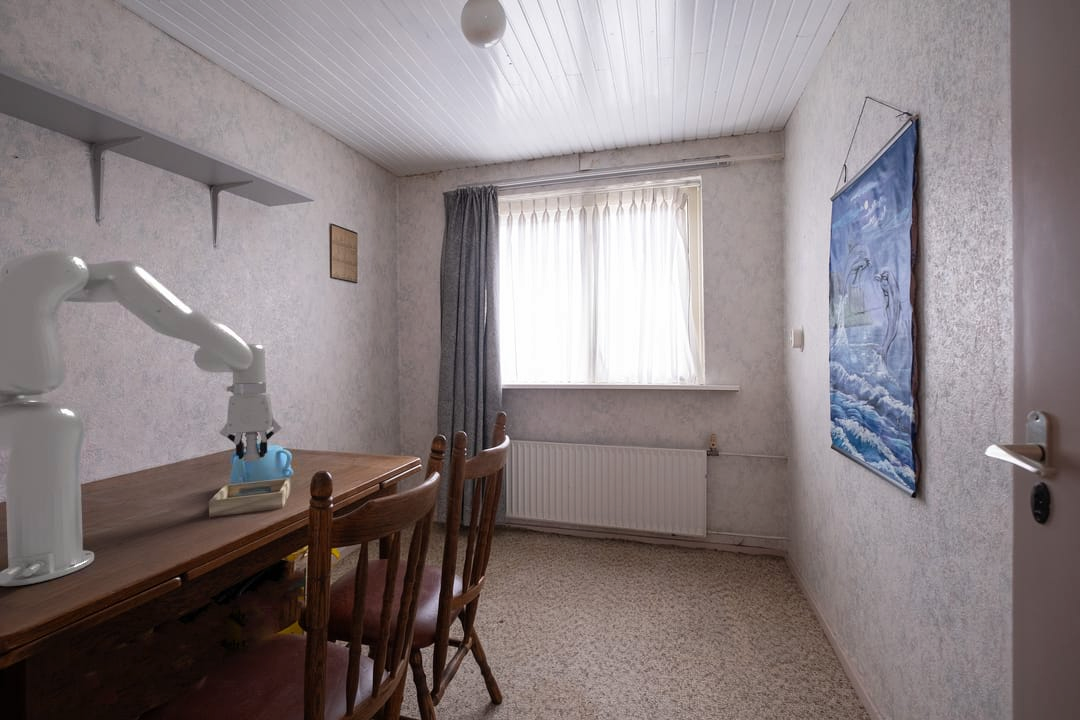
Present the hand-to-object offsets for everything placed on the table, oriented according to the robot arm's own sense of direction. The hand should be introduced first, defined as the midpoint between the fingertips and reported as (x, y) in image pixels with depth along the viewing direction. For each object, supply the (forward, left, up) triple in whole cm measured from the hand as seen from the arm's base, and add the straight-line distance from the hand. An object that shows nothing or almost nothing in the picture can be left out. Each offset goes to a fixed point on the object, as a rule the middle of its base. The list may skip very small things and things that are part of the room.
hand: (252, 456), depth 125 cm
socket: (0, 0, -13) cm, 13 cm away
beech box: (0, 0, -13) cm, 13 cm away
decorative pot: (+19, +1, -13) cm, 23 cm away
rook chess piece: (0, 0, -1) cm, 1 cm away
